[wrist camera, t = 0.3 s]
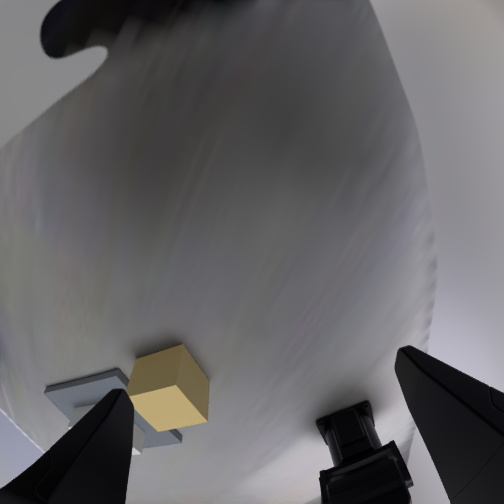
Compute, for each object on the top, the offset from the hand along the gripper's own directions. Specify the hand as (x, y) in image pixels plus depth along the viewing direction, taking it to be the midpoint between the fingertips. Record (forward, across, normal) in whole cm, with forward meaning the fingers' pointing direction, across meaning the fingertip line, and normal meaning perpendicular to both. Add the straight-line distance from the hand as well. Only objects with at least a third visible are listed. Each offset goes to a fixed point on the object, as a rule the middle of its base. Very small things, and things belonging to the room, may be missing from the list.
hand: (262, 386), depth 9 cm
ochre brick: (+14, +8, +12) cm, 20 cm away
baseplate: (+14, +18, +18) cm, 29 cm away
